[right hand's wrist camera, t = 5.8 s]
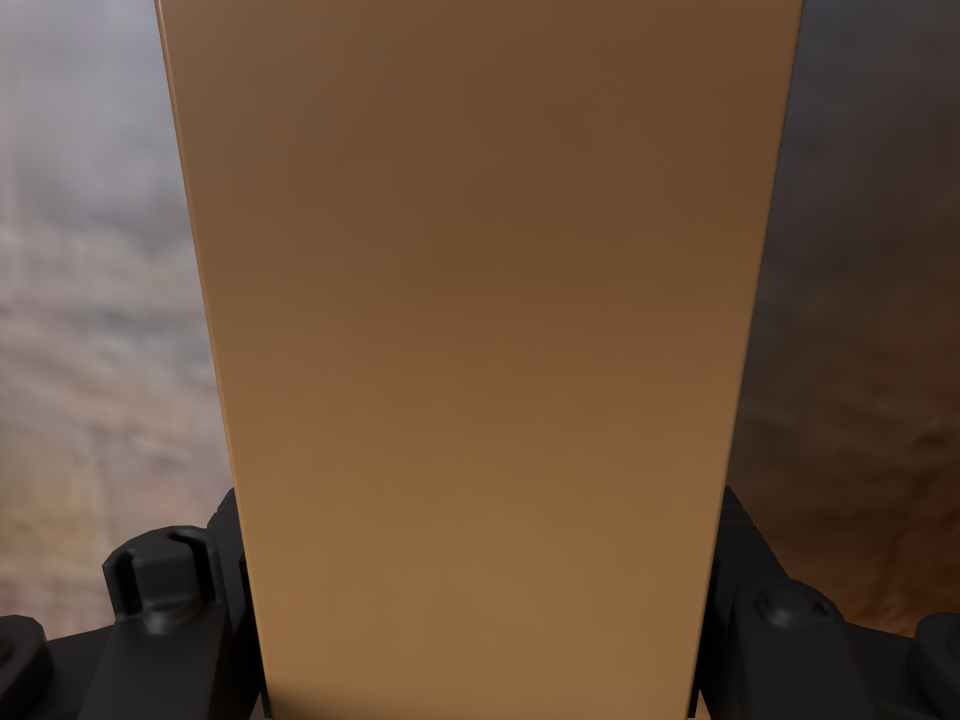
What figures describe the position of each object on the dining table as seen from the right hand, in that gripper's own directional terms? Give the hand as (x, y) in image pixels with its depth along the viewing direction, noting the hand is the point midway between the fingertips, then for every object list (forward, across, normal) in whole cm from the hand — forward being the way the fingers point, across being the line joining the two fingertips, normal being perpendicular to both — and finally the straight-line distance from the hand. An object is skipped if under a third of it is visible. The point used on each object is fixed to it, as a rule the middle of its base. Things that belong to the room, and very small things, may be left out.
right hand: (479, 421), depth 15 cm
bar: (+1, 0, -7) cm, 7 cm away
